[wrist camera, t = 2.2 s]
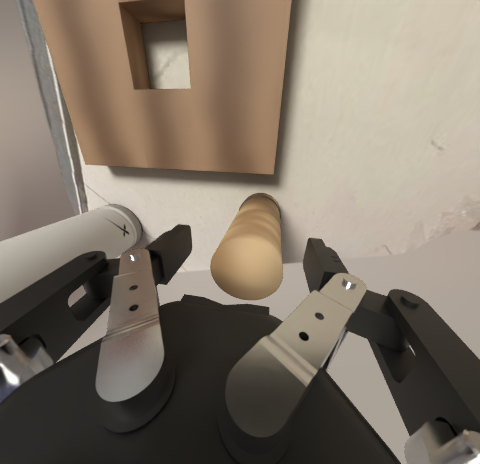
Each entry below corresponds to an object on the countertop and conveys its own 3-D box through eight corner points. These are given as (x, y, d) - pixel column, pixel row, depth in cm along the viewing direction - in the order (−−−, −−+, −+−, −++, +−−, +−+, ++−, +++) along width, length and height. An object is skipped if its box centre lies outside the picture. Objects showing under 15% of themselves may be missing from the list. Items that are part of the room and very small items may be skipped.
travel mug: (145, 212, 24) (-253, 412, 6) (140, 251, 27) (-134, 462, 9) (101, 193, 24) (-434, 336, 6) (101, 234, 27) (-253, 412, 9)
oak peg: (282, 190, 19) (289, 243, 9) (277, 226, 21) (279, 306, 10) (243, 187, 20) (207, 234, 9) (242, 222, 22) (210, 295, 11)
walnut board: (305, -139, 11) (313, -212, 9) (274, 171, 19) (273, 174, 17) (37, -86, 14) (-9, -131, 12) (105, 162, 22) (85, 164, 19)
